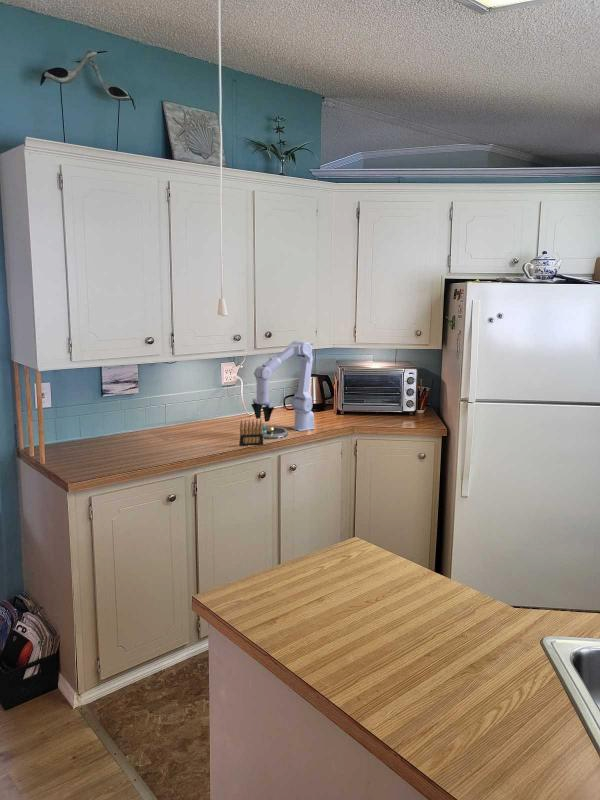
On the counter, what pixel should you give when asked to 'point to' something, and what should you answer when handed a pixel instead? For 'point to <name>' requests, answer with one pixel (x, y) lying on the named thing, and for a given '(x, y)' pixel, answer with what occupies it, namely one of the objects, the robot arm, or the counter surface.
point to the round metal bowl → (275, 433)
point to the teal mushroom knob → (264, 429)
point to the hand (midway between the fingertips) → (262, 419)
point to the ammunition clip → (253, 437)
